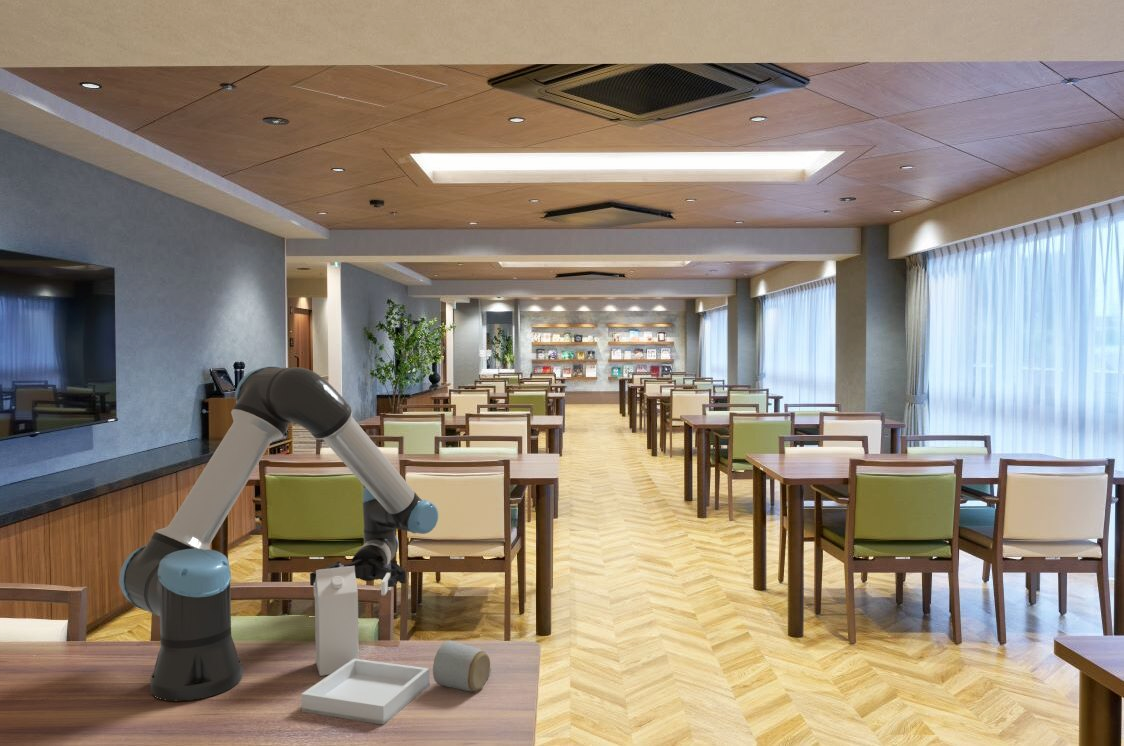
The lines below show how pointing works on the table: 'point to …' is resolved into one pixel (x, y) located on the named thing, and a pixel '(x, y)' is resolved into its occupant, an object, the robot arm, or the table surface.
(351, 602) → the milk carton
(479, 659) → the ceramic mug
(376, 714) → the tray
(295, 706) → the table surface
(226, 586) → the robot arm
